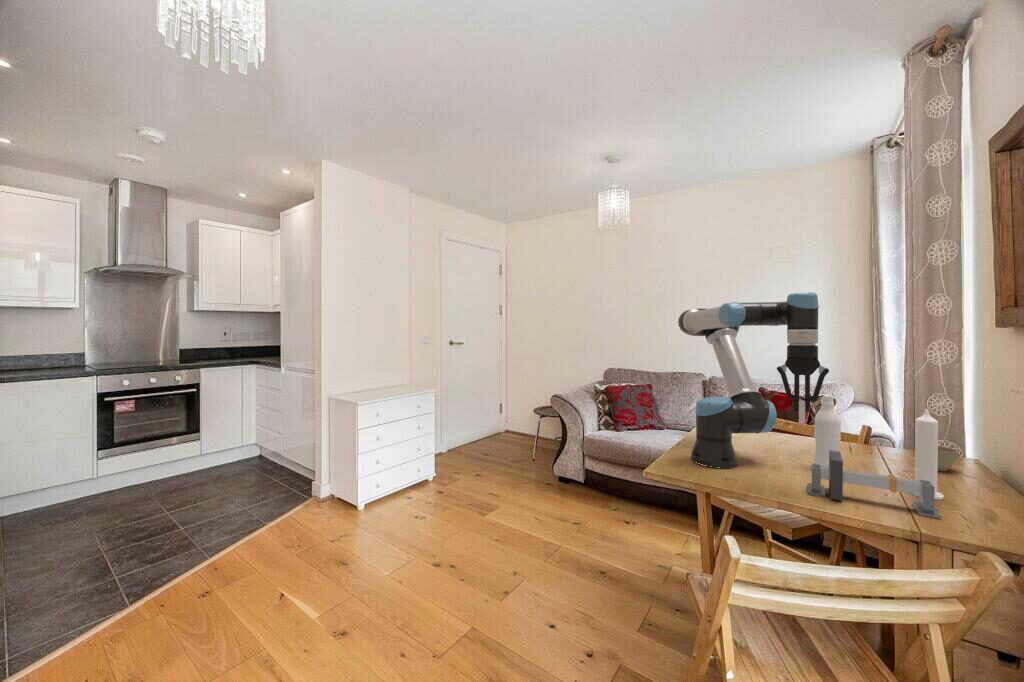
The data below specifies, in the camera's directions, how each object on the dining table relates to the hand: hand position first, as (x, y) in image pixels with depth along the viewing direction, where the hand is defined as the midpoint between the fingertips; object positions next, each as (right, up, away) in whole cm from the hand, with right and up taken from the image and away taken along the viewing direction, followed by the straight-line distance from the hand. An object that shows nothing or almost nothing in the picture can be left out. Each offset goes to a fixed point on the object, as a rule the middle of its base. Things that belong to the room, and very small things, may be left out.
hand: (801, 422), depth 119 cm
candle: (+32, -20, -5) cm, 38 cm away
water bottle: (+21, -20, +16) cm, 33 cm away
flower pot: (+58, -19, +16) cm, 63 cm away
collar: (+7, -20, -4) cm, 22 cm away
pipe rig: (+12, -20, -8) cm, 25 cm away
